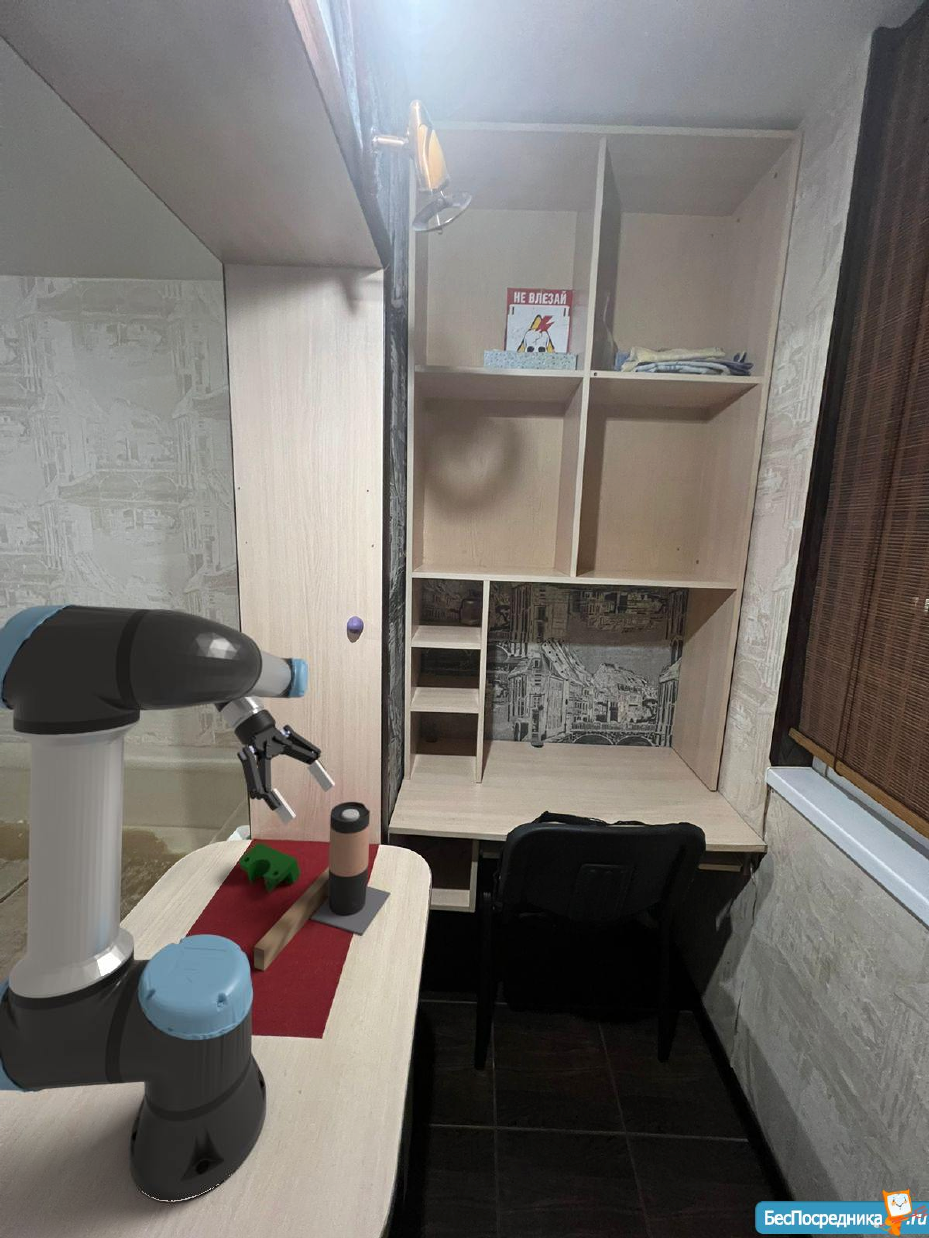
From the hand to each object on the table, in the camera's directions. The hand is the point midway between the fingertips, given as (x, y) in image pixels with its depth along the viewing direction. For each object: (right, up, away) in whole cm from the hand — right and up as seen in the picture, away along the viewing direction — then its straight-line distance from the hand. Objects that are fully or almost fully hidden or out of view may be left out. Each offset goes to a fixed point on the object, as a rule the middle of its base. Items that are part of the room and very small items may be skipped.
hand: (311, 803), depth 104 cm
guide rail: (-1, -21, -4) cm, 21 cm away
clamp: (-11, -19, +6) cm, 23 cm away
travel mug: (+7, -20, 0) cm, 21 cm away
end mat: (+8, -21, 0) cm, 22 cm away
